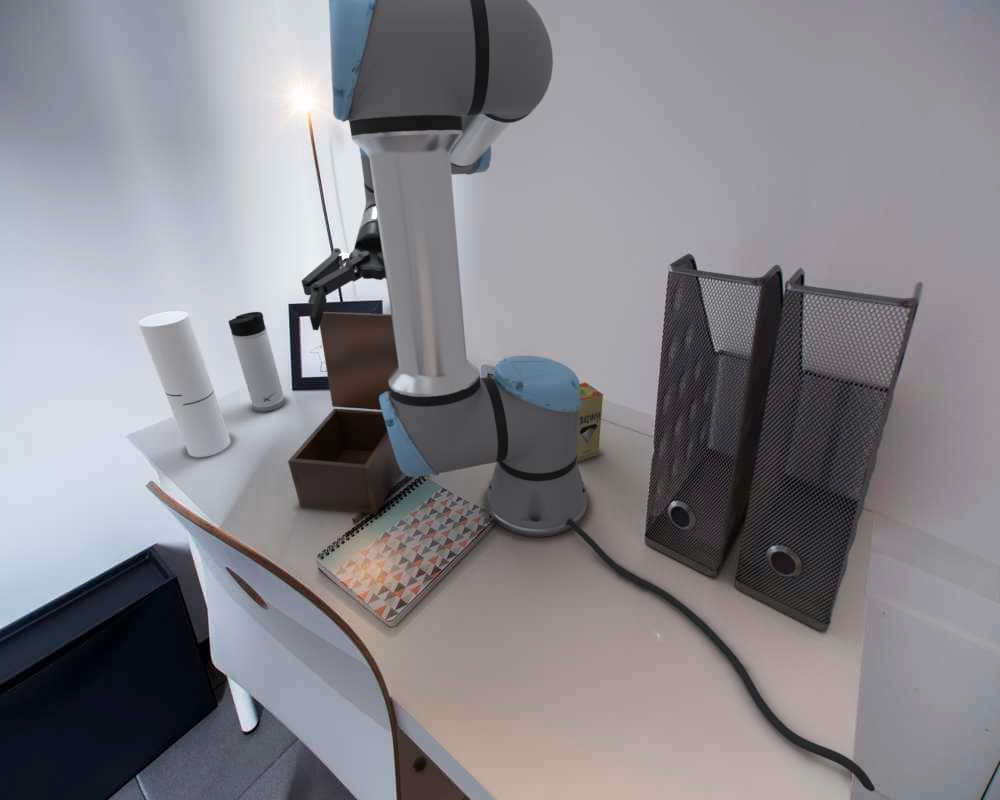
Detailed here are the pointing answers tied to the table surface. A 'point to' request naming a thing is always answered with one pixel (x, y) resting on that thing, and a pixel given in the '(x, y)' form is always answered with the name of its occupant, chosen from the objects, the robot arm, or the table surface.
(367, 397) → the lid
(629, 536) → the table surface
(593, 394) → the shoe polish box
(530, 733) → the table surface
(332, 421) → the keepsake box
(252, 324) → the travel mug
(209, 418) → the cylindrical container
